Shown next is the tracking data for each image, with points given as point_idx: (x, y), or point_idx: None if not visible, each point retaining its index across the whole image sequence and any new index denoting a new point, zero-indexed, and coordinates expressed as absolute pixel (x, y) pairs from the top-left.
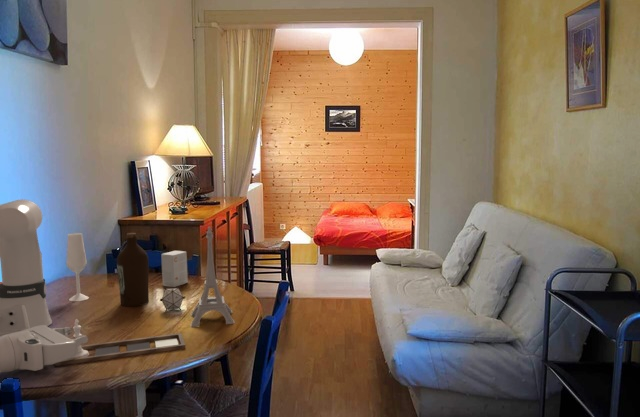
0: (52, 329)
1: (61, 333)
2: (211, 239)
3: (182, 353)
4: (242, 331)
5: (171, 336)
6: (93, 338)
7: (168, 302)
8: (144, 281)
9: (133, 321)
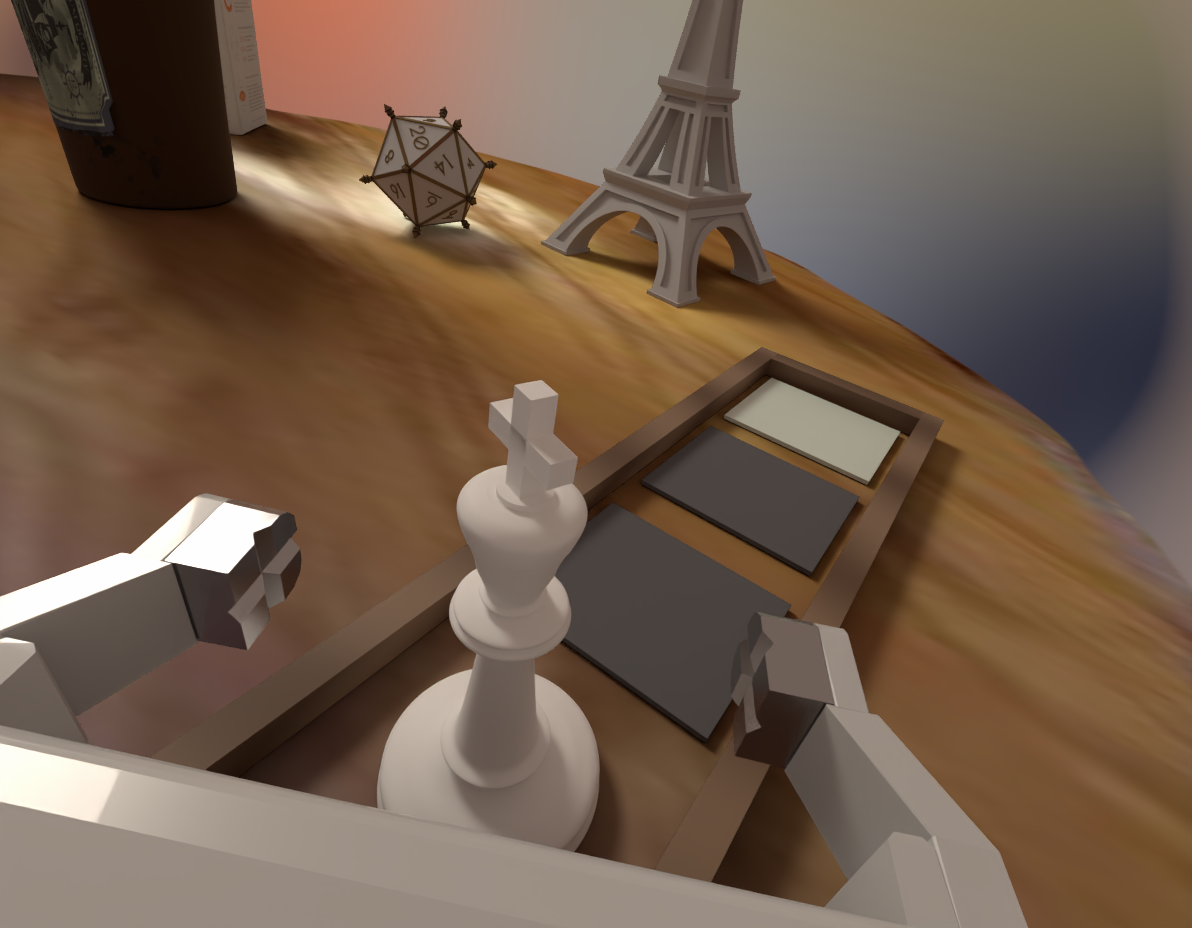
0: (17, 744)
1: (152, 640)
2: None
3: (1000, 475)
4: (875, 312)
5: (756, 373)
6: (281, 471)
7: (443, 188)
8: (217, 65)
9: (345, 295)
